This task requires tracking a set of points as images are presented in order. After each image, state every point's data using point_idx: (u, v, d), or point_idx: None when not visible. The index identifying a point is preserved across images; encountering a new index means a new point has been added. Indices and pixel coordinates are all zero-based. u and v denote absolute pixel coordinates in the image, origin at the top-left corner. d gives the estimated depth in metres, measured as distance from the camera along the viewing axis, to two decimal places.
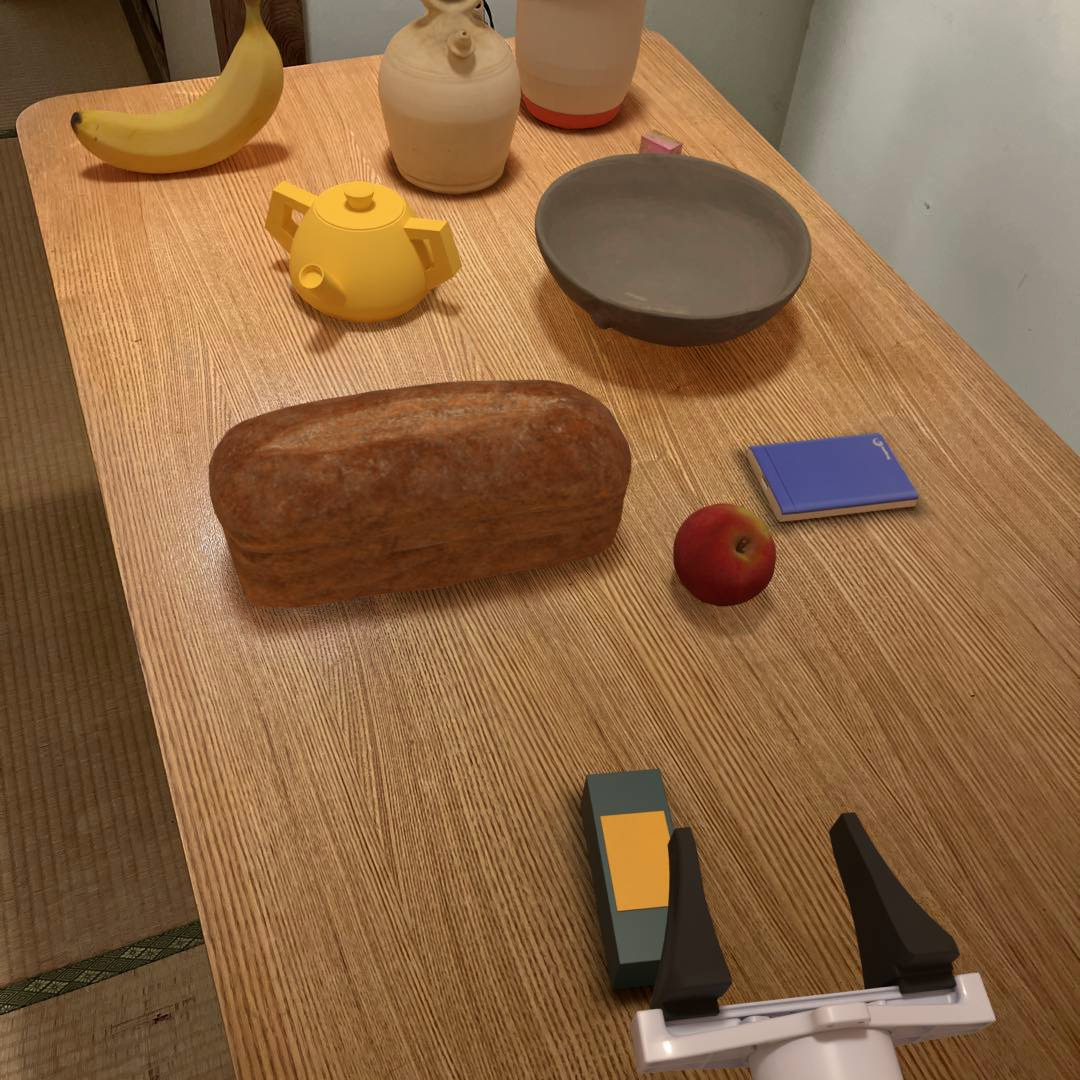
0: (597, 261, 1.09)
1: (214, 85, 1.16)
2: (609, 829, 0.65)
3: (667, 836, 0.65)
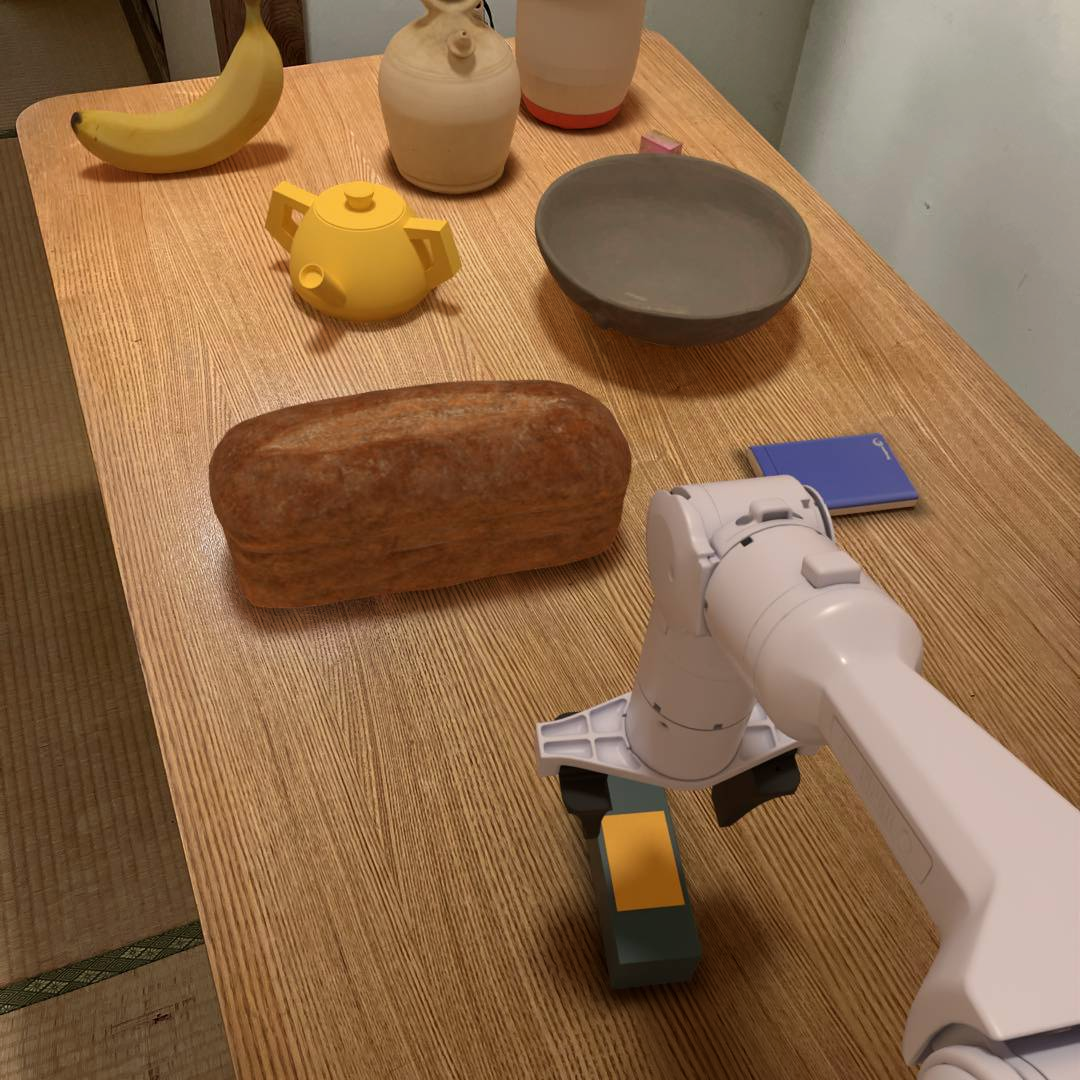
0: (597, 261, 1.09)
1: (214, 85, 1.16)
2: (609, 829, 0.65)
3: (667, 836, 0.65)
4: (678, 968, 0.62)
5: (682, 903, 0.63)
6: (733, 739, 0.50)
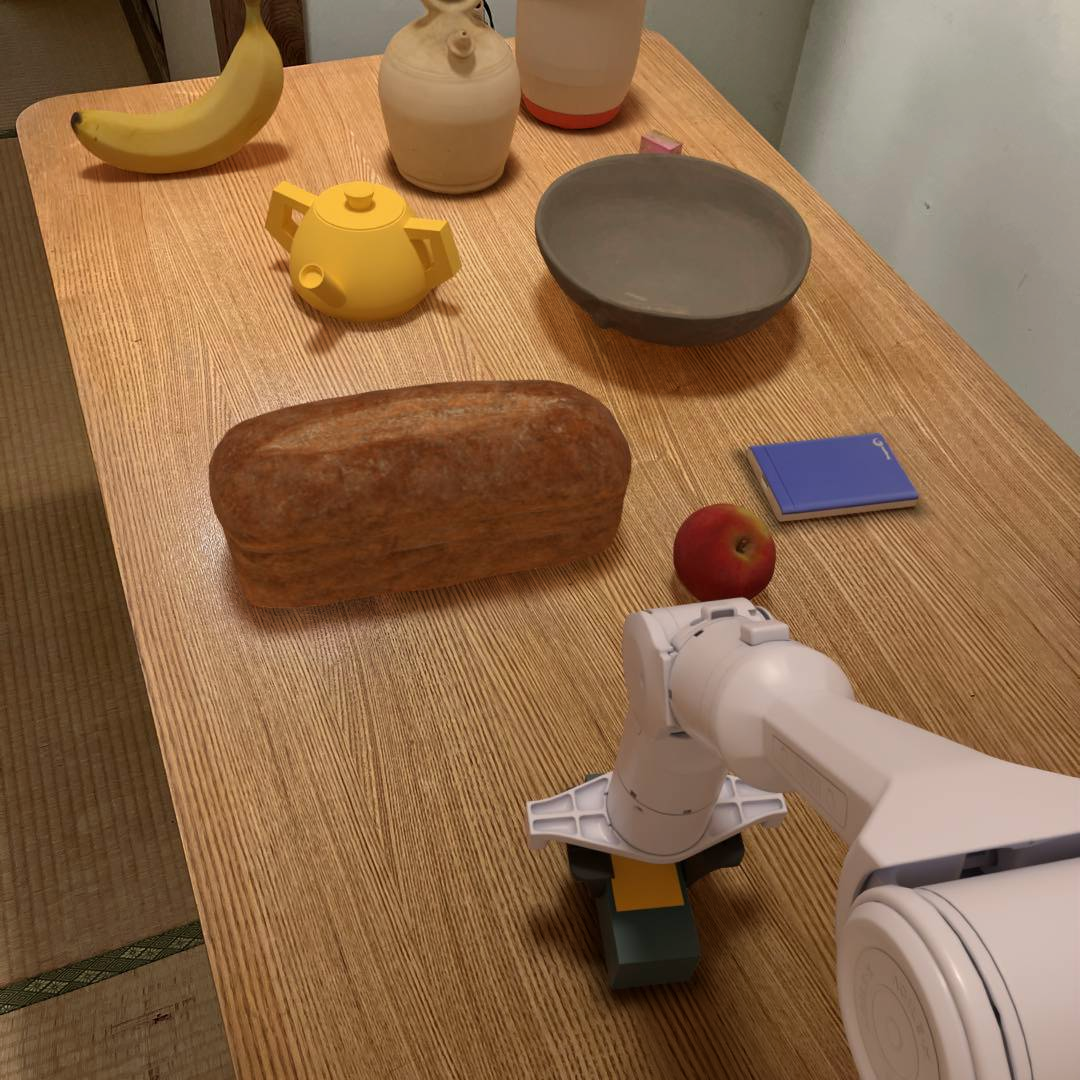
0: (597, 261, 1.09)
1: (214, 85, 1.16)
2: None
3: None
4: (677, 968, 0.62)
5: (681, 903, 0.63)
6: (702, 821, 0.56)
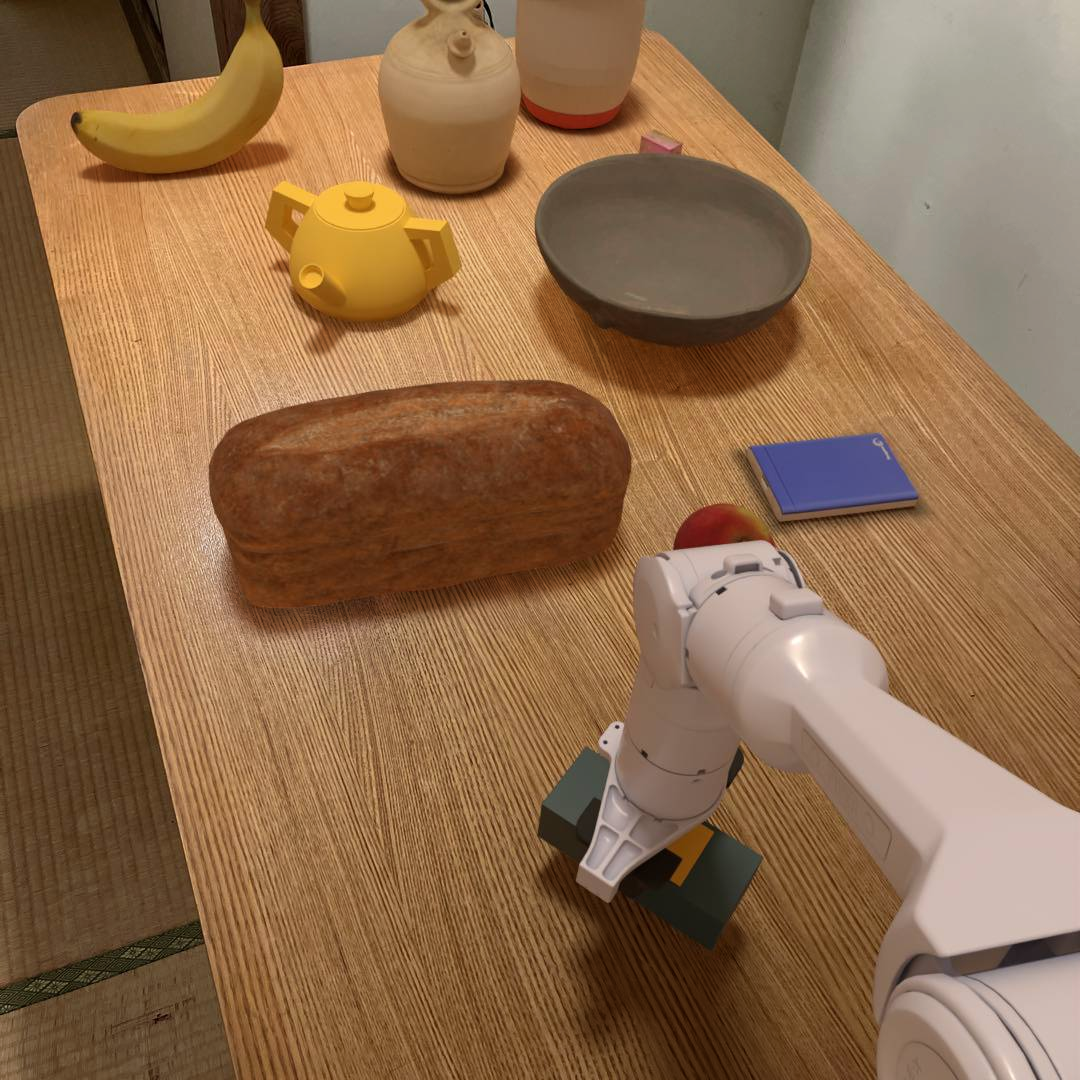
0: (597, 261, 1.09)
1: (214, 85, 1.16)
2: None
3: None
4: (748, 884, 0.61)
5: (711, 833, 0.61)
6: None
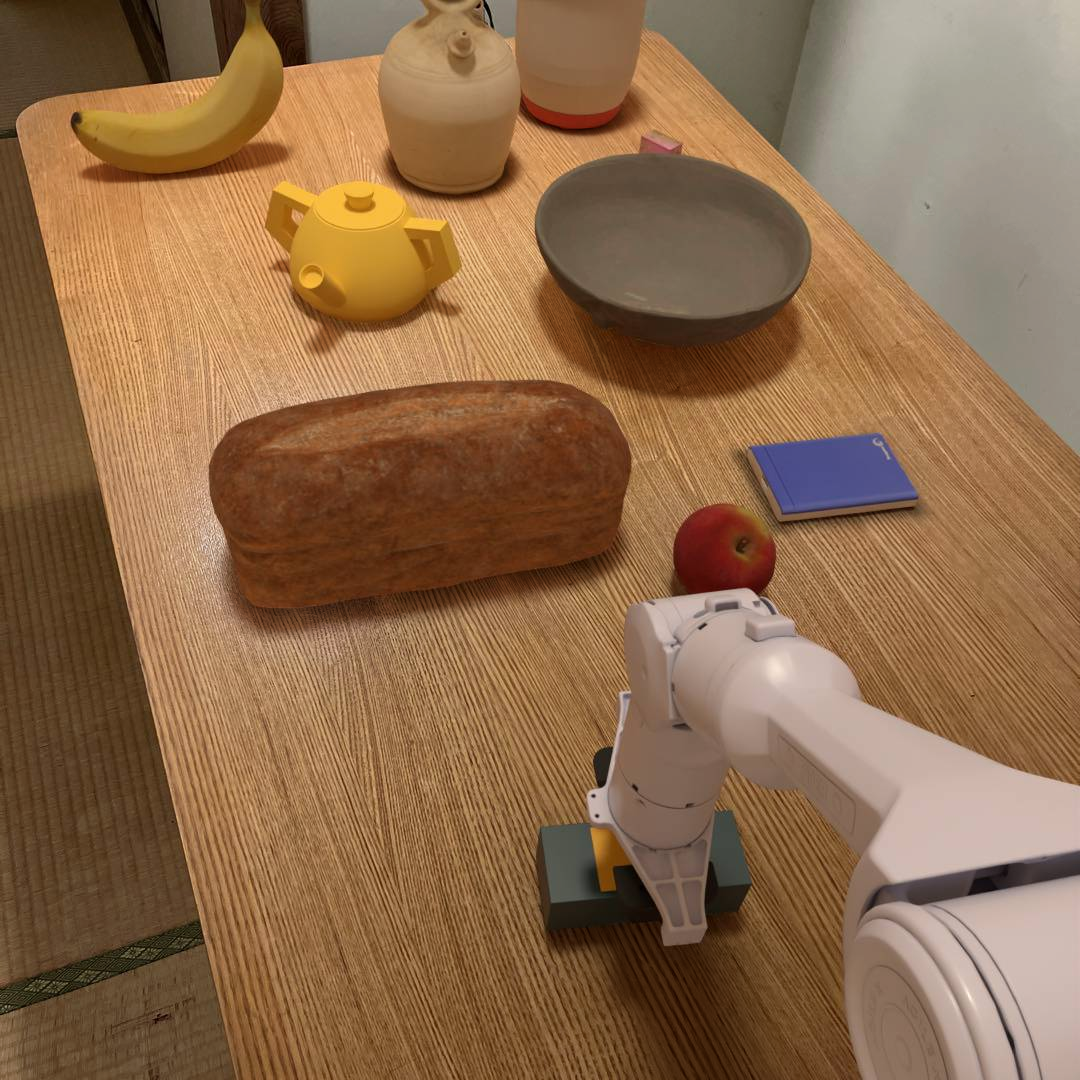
0: (597, 261, 1.09)
1: (214, 85, 1.16)
2: None
3: None
4: None
5: None
6: None
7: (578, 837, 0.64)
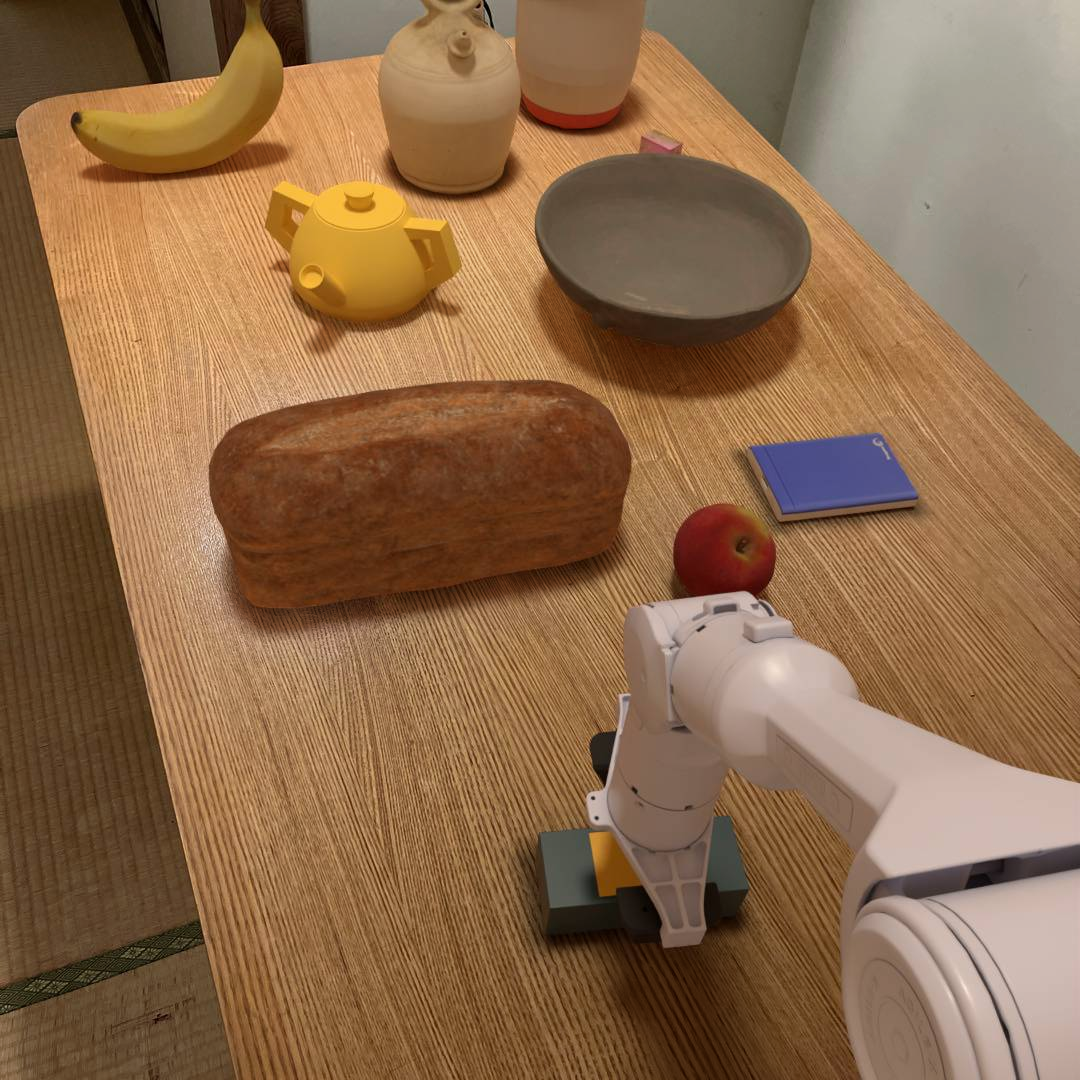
0: (597, 261, 1.09)
1: (214, 85, 1.16)
2: (614, 887, 0.63)
3: None
4: None
5: None
6: None
7: (577, 842, 0.65)
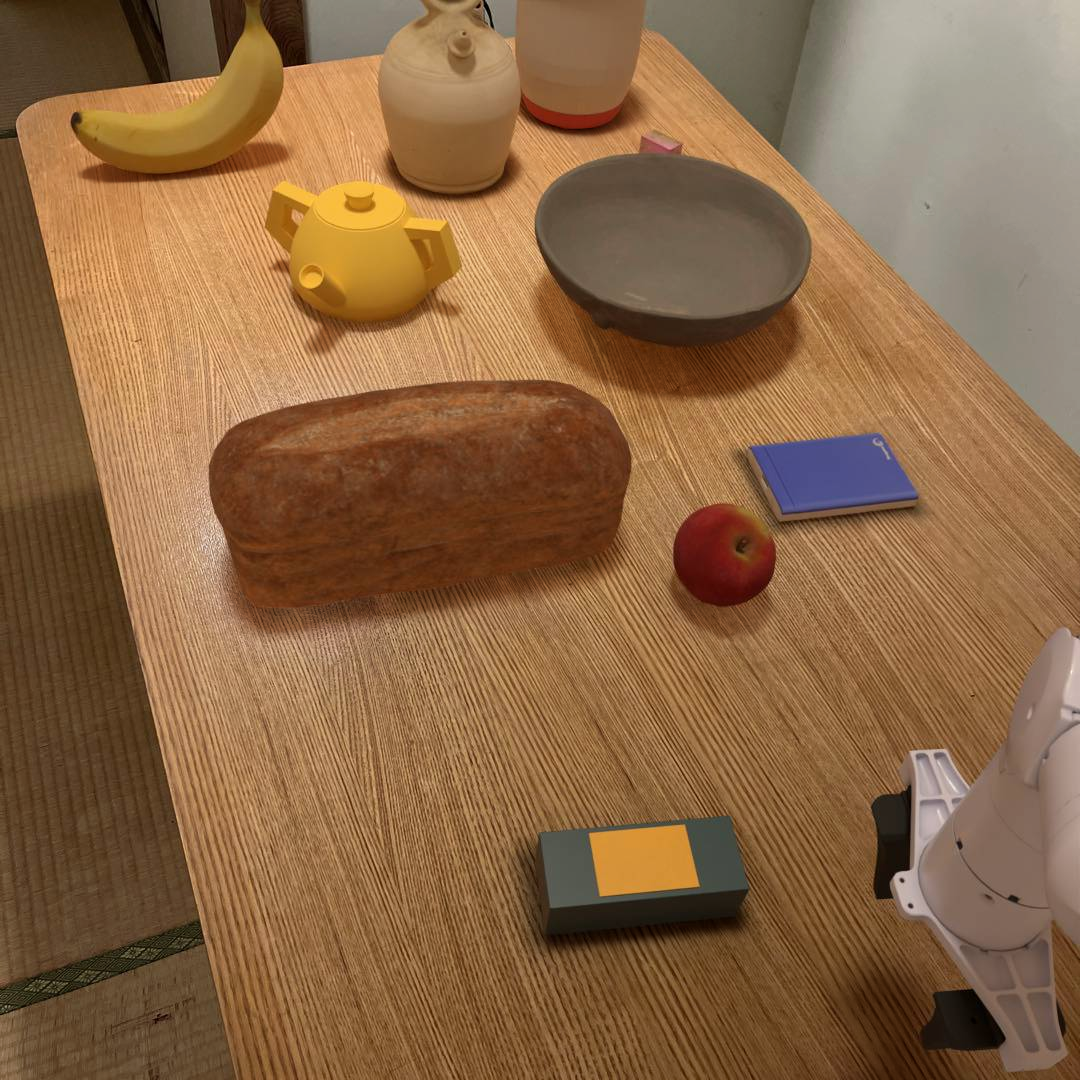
0: (597, 261, 1.09)
1: (214, 85, 1.16)
2: (614, 887, 0.63)
3: (616, 832, 0.65)
4: None
5: (683, 826, 0.66)
6: None
7: (577, 842, 0.65)
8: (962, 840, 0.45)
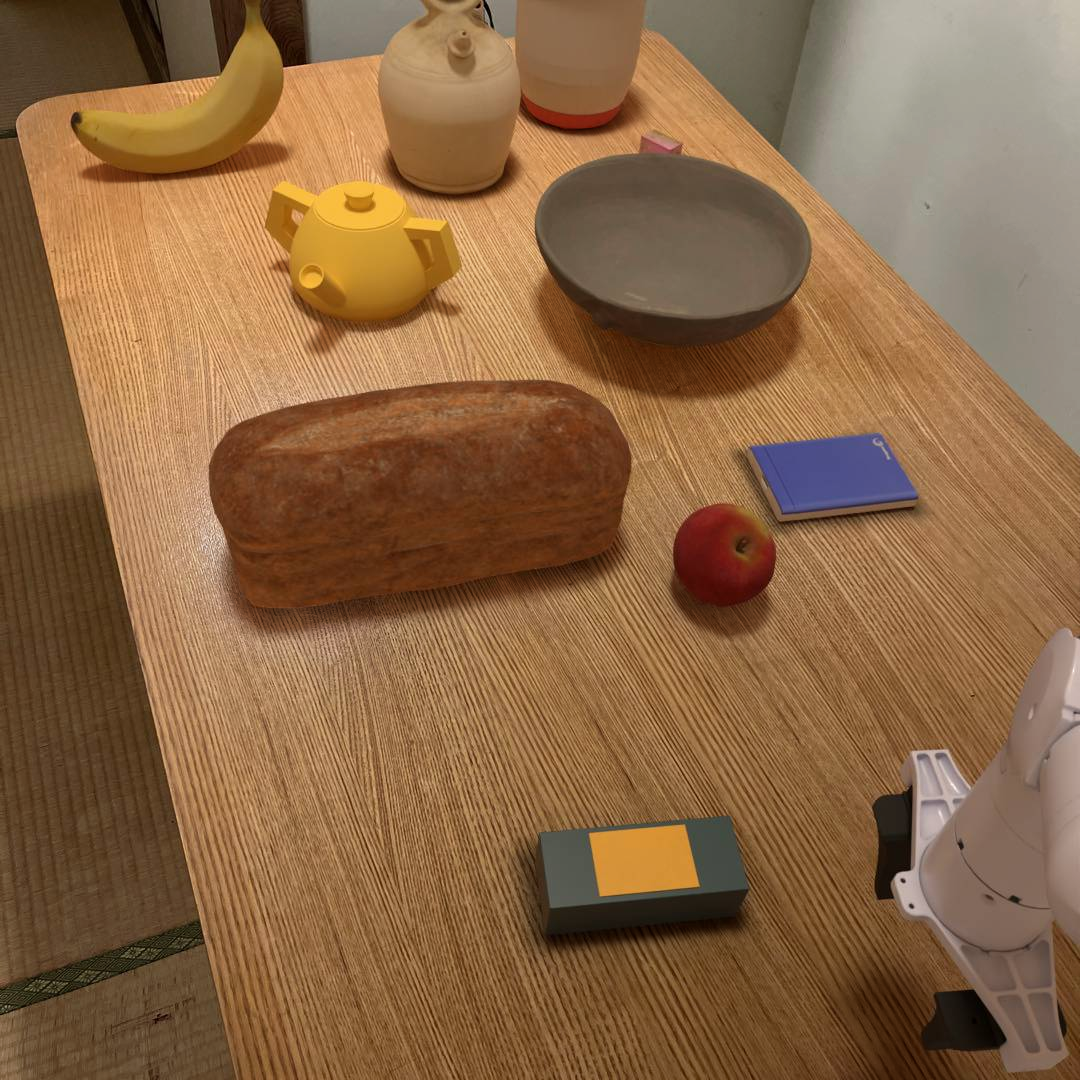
0: (597, 261, 1.09)
1: (214, 85, 1.16)
2: (614, 887, 0.63)
3: (616, 832, 0.65)
4: None
5: (683, 826, 0.66)
6: None
7: (577, 842, 0.65)
8: (963, 840, 0.45)
